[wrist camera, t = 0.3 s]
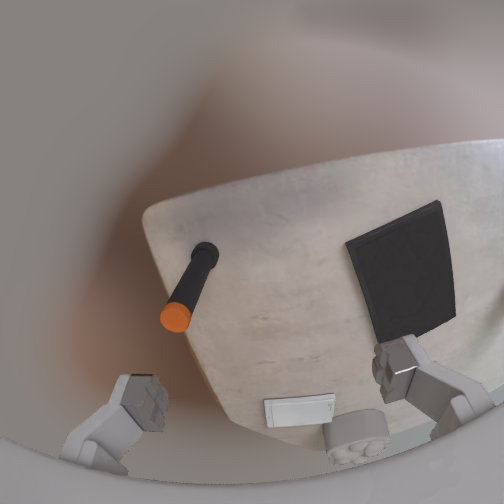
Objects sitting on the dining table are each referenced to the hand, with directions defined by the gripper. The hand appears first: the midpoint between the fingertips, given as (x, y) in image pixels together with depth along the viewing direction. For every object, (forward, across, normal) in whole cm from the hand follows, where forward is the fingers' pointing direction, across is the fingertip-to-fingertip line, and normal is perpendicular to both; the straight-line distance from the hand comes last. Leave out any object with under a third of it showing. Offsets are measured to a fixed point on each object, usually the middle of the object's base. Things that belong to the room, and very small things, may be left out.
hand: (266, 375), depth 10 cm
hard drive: (+23, -3, +39) cm, 45 cm away
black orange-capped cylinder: (+25, +7, +6) cm, 27 cm away
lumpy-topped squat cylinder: (+22, -14, +48) cm, 54 cm away
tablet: (+23, -20, +14) cm, 34 cm away
